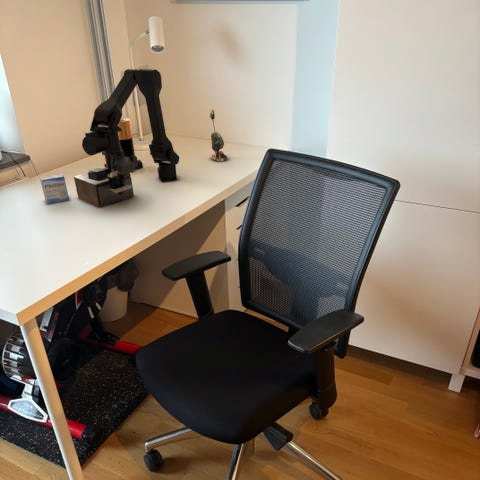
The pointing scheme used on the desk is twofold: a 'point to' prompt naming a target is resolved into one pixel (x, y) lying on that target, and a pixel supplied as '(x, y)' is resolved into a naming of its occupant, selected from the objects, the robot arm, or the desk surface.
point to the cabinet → (90, 189)
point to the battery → (126, 137)
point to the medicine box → (54, 188)
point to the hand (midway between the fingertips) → (120, 194)
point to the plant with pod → (217, 143)
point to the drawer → (114, 192)
